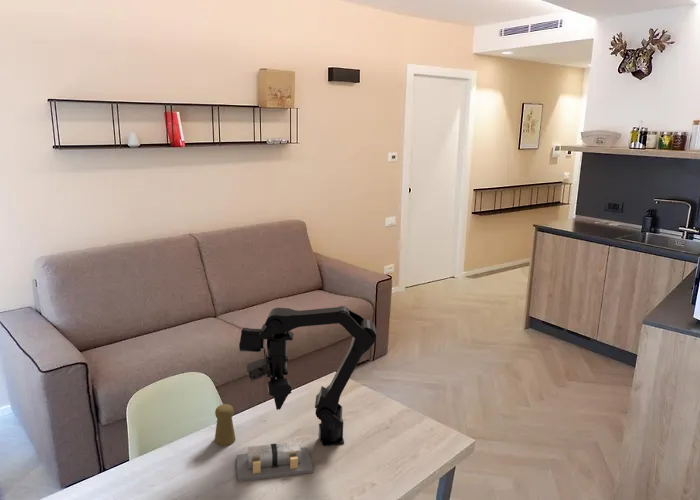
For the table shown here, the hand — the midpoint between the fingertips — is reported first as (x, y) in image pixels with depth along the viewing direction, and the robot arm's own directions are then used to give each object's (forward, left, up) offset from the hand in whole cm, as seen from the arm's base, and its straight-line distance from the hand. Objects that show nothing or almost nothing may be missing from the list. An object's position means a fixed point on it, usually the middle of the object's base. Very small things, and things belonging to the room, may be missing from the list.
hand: (276, 400), depth 155 cm
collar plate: (+2, +13, -12) cm, 18 cm away
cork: (+15, -1, -12) cm, 19 cm away
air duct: (+2, +13, -11) cm, 17 cm away
